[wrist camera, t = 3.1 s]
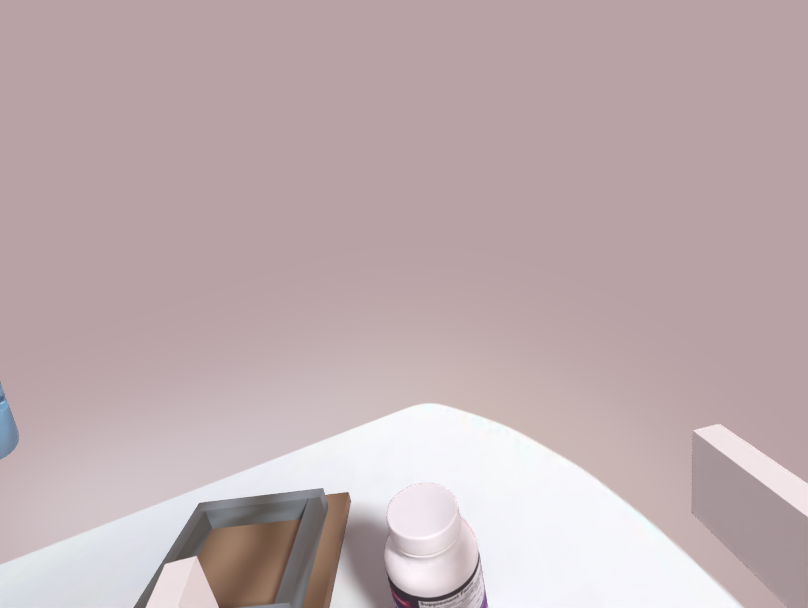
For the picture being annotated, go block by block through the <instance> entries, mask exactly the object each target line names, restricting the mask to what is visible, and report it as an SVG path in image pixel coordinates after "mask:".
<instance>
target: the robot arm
mask: <svg viewBox="0 0 808 608" xmlns="http://www.w3.org/2000/svg"><path fill="white" fill-rule="evenodd" d="M18 440H19V434H18V430H17V426H16V424H15V421H14V418H13V415H12V413H11V410H10V407H9V405H8V403H7V400H6V398H5V394H4V392H3V389H2V386H1V383H0V459H2V458H4V457H6V456H7V455H8V454H10V453H11V452H12V451H13V450H14V449H15V447H16V446H17V443H18ZM692 446H693V447H692V450H693V451H692V513H693V514H694V515H695V516H696V517H697V518H698V519H699V520H700V521H701V522H702V523H703V524H704V525H705V526H706V527H707V528H708V529H709V530H710V531H711V532H712V533H713V534H714V535H715V536H716V537H717V538H718V539H719V540H720V541H721V542H722V543H723V544H724V545H725V546H726V547H727V548H728V549H729V550H730V551H731V552H732V553H733V554H734V555H735V556H736V557H737V558H738V559H739V560H740V561H741V562H742V563H743V564H744V565H745V566H746V567H747V568H748V569H749V570H750V571H751V572H752V573H753V574H754V575H755V576H756V577H758V579H759V580H760V581H762V583H763V584H764V585H765V586H766V587H767V588H769V590H770V591H771V592H772V593H773V594H774V595H776V596H777V597H778V598H779V599H780V600H781V601H782V602H783V603H784V604H785V605H786V606H787V607H788V608H808V484H807V483H806V482H804V481H803V480H801V479H800V478H798V477H797V476H795V475H794V474H792V473H791V472H789V471H788V470H786V469H785V468H784V467H782V466H781V465H779V464H778V463H776V462H775V461H773V460H772V459H770V458H769V457H767V456H766V455H764V454H763V453H762V452H760V451H759V450H757V449H756V448H754V447H753V446H751V445H750V444H748V443H747V442H745V441H744V440H742V439H741V438H739V437H738V436H737V435H735V434H734V433H732V432H731V431H729V430H728V429H726V428H725V427H723V426H722V425H720V424H716V425H712V426H709V427H705V428H701V429H697V430H693V443H692ZM146 608H219V607H218V604H217V602H216V600H215V597H214V595H213V593H212V591H211V588H210V586H209V584H208V581H207V579H206V577H205V574H204V572H203V570H202V567H201V565H200V563H199V561H198V558H197V556H195V557H191V558H187V559H183V560H179V561H175V562H171V563H167V564H165V565H164V568H163V570H162V572H161V574H160V577H159V579H158V581H157V583H156V586H155V588H154V590H153V592H152V594H151V597H150V599H149V601H148V603H147V606H146Z"/></svg>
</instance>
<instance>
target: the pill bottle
mask: <svg viewBox="0 0 808 608" xmlns="http://www.w3.org/2000/svg"><path fill="white" fill-rule="evenodd" d="M386 518H387V523H388V528H389V533H390V534H389V536H388V538H387V541H386V544H385V549H384V561H385V568H386V572H387V575H388V579H389V583H390V587H391V591H392V595H393V598H394V602H395V606H396V608H488V604H487V598H486V592H485V586H484V580H483V574H482V567H481V561H480V555H479V550H478V545H477V540H476V537H475V534H474V532H473V530H472V529H471V527H470V526H469V524H468V523H467V522H466V521H465V520H464V519H463V518H462V517H461V516H460V512H459V508H458V504H457V501H456V498H455V496H454V495H453V494H452V492H451V491H450V490H448V489H447V488H445V487H443V486H441V485H438V484H434V483H420V484H415V485H412V486H409V487H407V488H405V489H403V490H402V491H400V492H399V493H398V494H397V495H396V496H395V497H394V498H393V499H392V500H391V502H390V504H389V506H388V509H387V516H386Z"/></svg>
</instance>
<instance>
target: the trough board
mask: <svg viewBox="0 0 808 608" xmlns="http://www.w3.org/2000/svg"><path fill="white" fill-rule="evenodd" d="M350 503H351V500H350V496H349V492H346V493H337V494H329V495H325V493H324V490H323V488H320V489H312V490H304V491H295V492H287V493H278V494H270V495H262V496H253V497H245V498H237V499H228V500H220V501H211V502H203V503H199V504H198V506H197V508H196V509H195V511H194V512H193V514H192V516H191V517H190V519H189V520H188V522H187V523H186V525H185V527H184V528H183V530H182V531H181V533H180V535H179V536H178V538H177V539H176V541H175V543H174V544H173V546H172V547H171V549H170V551H169V552H168V554H167V555H166V557H165V559H164V560H163V562H162V563H161V565H160V567H159V568H158V570H157V571H156V573H155V574H154V576H153V578H152V579H151V581H150V582H149V584H148V586H147V587H146V589H145V590H144V592H143V594H142V595H141V597H140V598H139V600H138V602H137V603H136V605H135V606H134V608H146V606H147V603H148V601H149V599H150V597H151V594H152V592H153V590H154V588H155V586H156V583H157V581H158V579H159V577H160V574H161V572H162V570H163V568H164V565H165V564H167V563H171V562H175V561H179V560H183V559H187V558H191V557H195V556H197V558H198V561H199V563H200V565H201V567H202V570H203V572H204V574H205V577H206V579H207V581H208V584H209V586H210V588H211V591H212V593H213V595H214V597H215V600H216V602H217V604H218V607H219V608H329V606H330V601H331V597H332V592H333V587H334V582H335V577H336V572H337V567H338V562H339V557H340V552H341V547H342V542H343V538H344V533H345V528H346V523H347V518H348V513H349V508H350Z"/></svg>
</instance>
